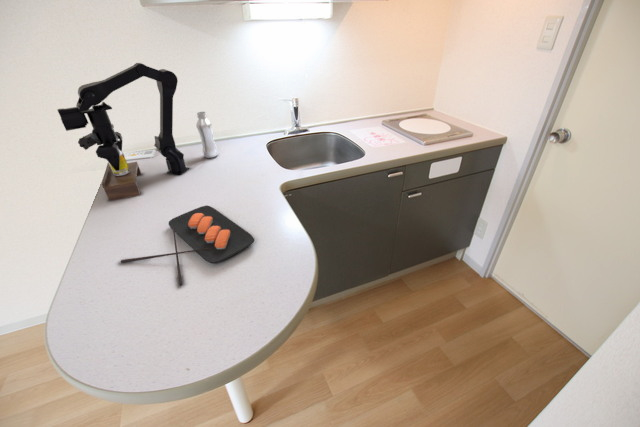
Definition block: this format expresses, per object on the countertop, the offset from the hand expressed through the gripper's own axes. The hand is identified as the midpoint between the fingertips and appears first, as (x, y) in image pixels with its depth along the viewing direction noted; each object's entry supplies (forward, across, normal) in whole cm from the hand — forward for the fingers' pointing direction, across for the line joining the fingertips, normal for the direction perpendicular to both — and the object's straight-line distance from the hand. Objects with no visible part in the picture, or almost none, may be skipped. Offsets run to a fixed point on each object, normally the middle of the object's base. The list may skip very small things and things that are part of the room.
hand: (118, 165), depth 116 cm
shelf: (+9, 0, 0) cm, 9 cm away
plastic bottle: (+9, -15, +34) cm, 38 cm away
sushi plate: (+9, +50, +18) cm, 54 cm away
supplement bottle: (+3, 0, 0) cm, 3 cm away
